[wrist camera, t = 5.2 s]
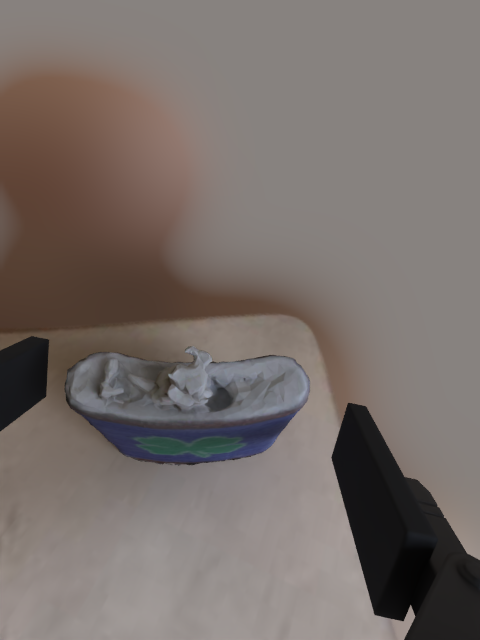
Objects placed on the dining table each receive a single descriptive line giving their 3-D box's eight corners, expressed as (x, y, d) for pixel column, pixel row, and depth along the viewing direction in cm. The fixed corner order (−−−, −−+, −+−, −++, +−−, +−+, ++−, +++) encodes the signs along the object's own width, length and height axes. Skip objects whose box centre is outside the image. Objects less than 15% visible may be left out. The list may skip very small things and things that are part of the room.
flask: (273, 411, 22) (321, 331, 12) (277, 463, 20) (334, 417, 11) (118, 412, 21) (44, 328, 12) (110, 466, 20) (19, 419, 10)
